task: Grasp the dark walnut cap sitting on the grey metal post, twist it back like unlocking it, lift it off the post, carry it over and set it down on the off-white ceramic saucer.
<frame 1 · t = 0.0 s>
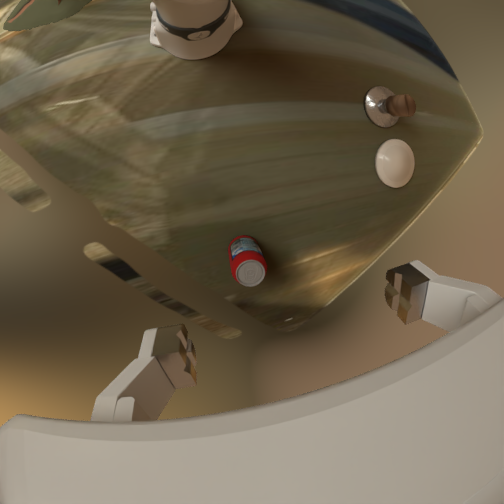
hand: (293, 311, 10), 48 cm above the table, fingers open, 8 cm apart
cap: (393, 106, 47), point 5 cm above the table, touching pedestal
beverage can: (242, 247, 61), on the table
saucer: (394, 162, 58), on the table
pedestal: (381, 106, 52), on the table
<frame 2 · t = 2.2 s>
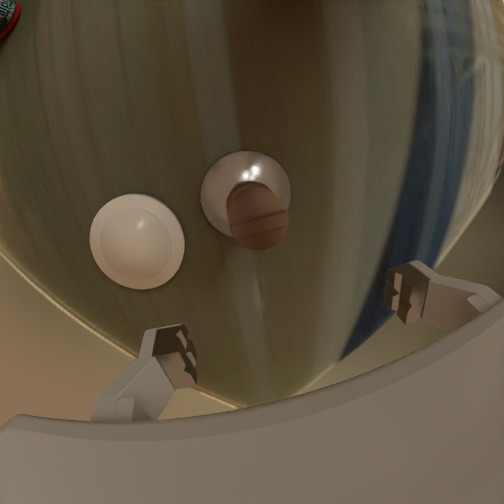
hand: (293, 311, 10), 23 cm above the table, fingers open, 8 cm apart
cap: (251, 205, 26), point 5 cm above the table, touching pedestal
beverage can: (7, 22, 14), on the table
saucer: (136, 241, 31), on the table
pedestal: (245, 194, 31), on the table
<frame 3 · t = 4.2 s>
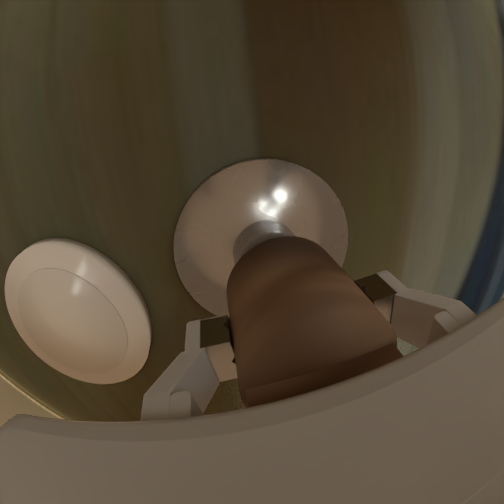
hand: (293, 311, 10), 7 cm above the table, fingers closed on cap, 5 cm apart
cap: (283, 289, 12), point 5 cm above the table, touching gripper, pedestal
saucer: (74, 316, 16), on the table
pedestal: (262, 244, 16), on the table
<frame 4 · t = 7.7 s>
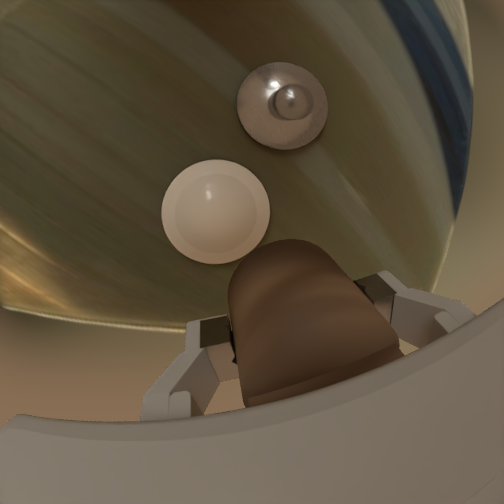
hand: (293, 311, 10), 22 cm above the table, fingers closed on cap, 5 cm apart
cap: (285, 293, 11), point 21 cm above the table, touching gripper
saucer: (215, 211, 31), on the table
pedestal: (282, 105, 27), on the table
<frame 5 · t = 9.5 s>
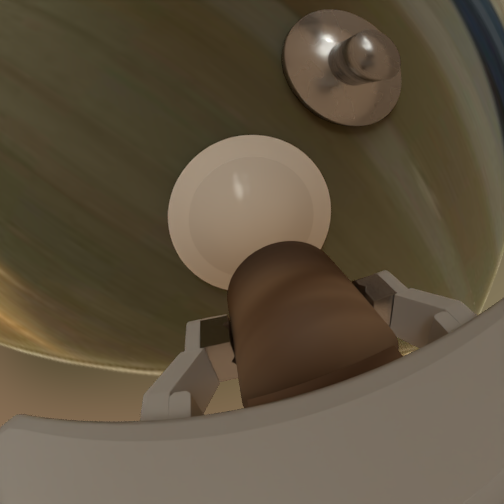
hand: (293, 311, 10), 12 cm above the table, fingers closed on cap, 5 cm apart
cap: (284, 294, 11), point 10 cm above the table, touching gripper
saucer: (250, 215, 21), on the table
pedestal: (343, 66, 17), on the table
when the fingers open (5 cm above the table, at t = 11.0 s): cap drops 2 cm, resting on saucer.
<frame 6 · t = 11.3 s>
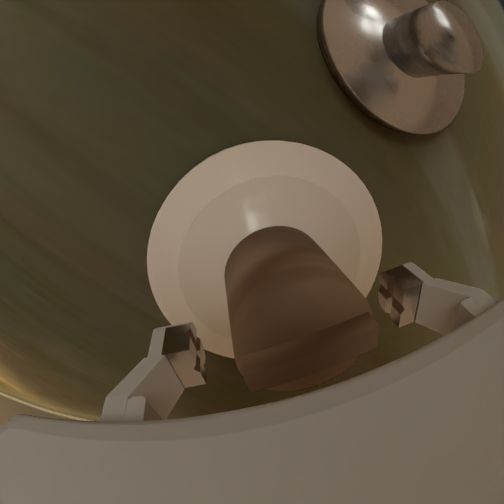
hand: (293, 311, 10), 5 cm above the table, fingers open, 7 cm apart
cap: (275, 274, 13), point 1 cm above the table, touching saucer
saucer: (269, 260, 14), on the table
pedestal: (398, 50, 10), on the table
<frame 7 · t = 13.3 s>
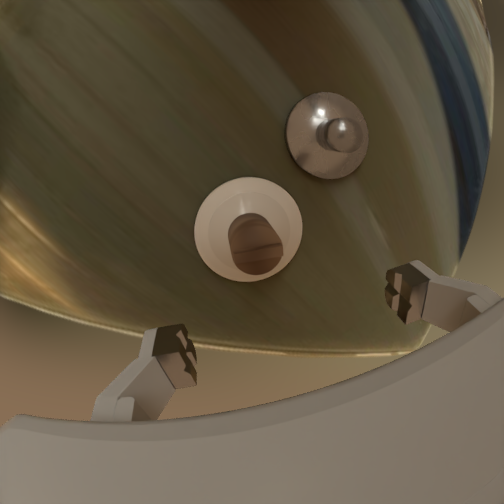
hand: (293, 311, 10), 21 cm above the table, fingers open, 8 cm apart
cap: (250, 234, 30), point 1 cm above the table, touching saucer
saucer: (248, 229, 31), on the table
pedestal: (327, 135, 28), on the table
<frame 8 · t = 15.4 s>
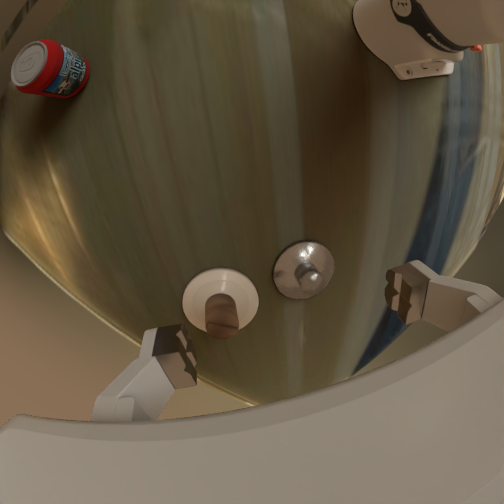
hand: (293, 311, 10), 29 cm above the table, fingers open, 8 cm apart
cap: (220, 306, 42), point 1 cm above the table, touching saucer
beverage can: (73, 77, 26), on the table
saucer: (220, 300, 44), on the table
pedestal: (303, 269, 44), on the table
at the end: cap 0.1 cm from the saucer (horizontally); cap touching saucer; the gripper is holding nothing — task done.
